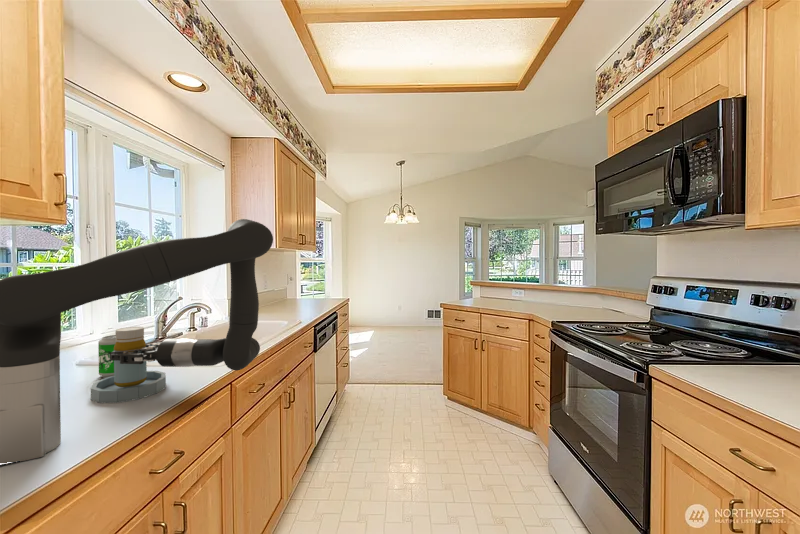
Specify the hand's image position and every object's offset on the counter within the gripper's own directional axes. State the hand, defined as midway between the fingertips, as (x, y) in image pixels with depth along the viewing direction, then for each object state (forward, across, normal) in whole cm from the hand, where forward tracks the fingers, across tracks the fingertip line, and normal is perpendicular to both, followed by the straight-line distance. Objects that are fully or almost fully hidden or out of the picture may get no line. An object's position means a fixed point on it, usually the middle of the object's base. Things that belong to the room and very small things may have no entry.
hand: (122, 352), depth 96 cm
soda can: (+13, -13, +11) cm, 21 cm away
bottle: (-2, 0, +9) cm, 9 cm away
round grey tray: (-2, 0, +11) cm, 11 cm away
